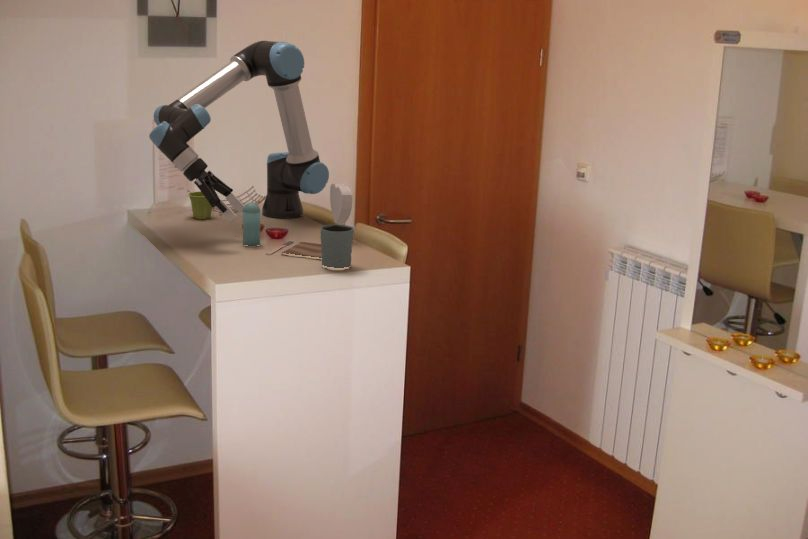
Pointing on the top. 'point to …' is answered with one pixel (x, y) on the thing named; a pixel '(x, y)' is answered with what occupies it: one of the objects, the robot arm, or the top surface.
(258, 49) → the robot arm
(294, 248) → the board
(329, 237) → the grey textured cup
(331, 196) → the heart sculpture
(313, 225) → the top surface
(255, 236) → the teal domed cylinder
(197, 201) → the plant pot
